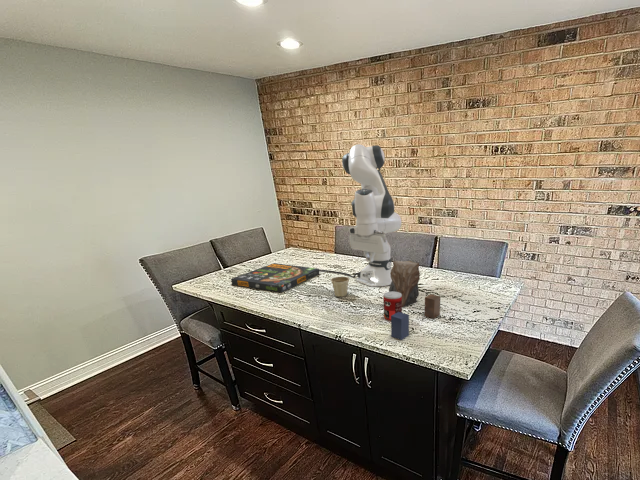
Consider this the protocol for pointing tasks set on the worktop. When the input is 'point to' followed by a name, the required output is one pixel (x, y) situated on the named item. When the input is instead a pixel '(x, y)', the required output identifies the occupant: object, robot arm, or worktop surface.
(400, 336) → the blue block
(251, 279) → the pizza box
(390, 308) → the canned food
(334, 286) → the flower pot
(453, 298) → the worktop surface
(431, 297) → the walnut block
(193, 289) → the worktop surface
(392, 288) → the owl
